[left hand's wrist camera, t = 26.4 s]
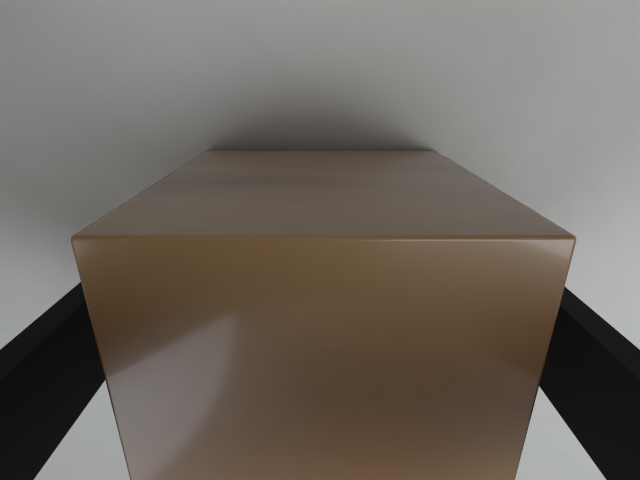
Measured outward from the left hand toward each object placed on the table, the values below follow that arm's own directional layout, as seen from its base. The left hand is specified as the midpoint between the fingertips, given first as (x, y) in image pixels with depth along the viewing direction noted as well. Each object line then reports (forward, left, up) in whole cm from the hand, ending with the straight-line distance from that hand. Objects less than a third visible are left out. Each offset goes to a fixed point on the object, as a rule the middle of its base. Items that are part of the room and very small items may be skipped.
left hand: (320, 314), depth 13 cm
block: (0, 0, -4) cm, 4 cm away
